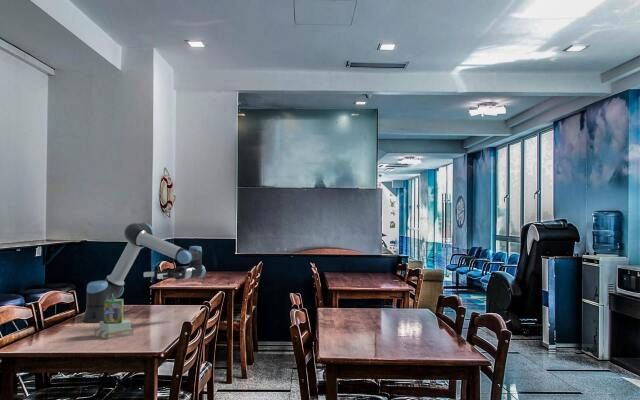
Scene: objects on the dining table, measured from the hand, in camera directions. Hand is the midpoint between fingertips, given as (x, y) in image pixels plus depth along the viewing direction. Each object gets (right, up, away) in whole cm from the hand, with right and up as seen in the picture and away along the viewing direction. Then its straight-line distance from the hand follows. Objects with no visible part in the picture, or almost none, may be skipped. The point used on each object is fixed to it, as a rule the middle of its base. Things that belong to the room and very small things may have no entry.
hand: (150, 275), depth 301 cm
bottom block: (-13, -30, -19) cm, 38 cm away
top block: (-13, -26, -19) cm, 34 cm away
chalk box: (-13, -22, -20) cm, 33 cm away
